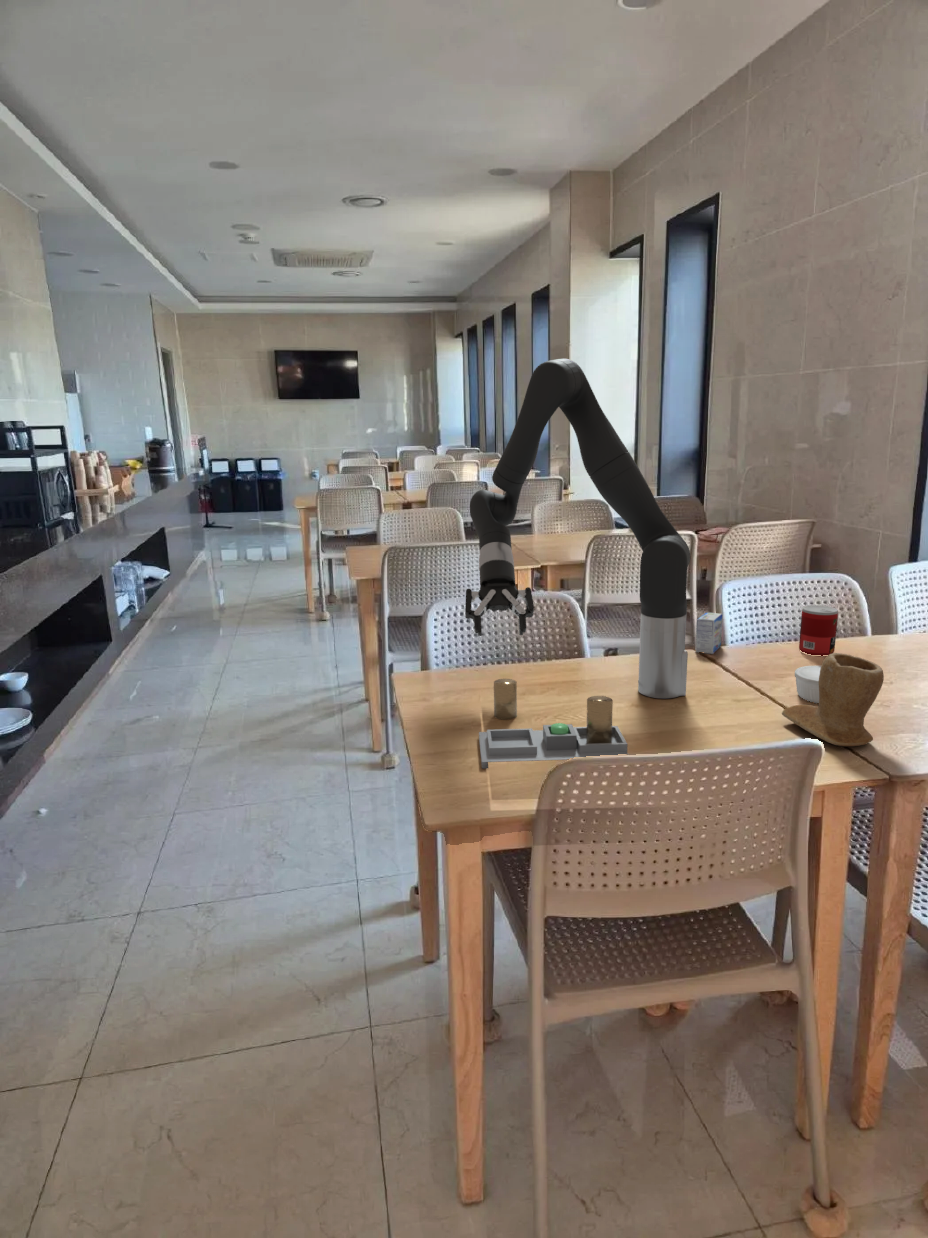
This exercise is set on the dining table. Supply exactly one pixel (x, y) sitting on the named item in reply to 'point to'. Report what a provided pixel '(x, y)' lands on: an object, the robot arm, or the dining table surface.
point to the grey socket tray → (544, 745)
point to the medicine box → (708, 633)
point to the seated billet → (599, 720)
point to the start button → (559, 728)
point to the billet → (505, 699)
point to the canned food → (818, 630)
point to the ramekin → (808, 682)
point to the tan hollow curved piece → (841, 701)
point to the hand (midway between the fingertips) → (500, 633)
